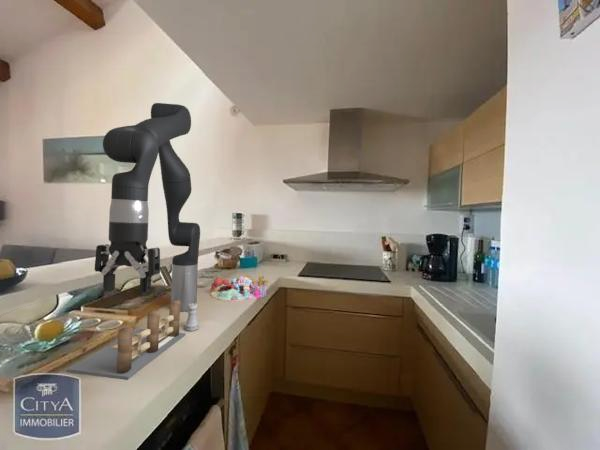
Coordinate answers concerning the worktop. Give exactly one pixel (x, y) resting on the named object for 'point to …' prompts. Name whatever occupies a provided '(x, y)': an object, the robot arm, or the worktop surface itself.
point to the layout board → (107, 359)
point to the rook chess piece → (192, 318)
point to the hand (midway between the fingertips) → (126, 292)
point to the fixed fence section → (163, 326)
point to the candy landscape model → (239, 288)
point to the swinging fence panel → (130, 347)
